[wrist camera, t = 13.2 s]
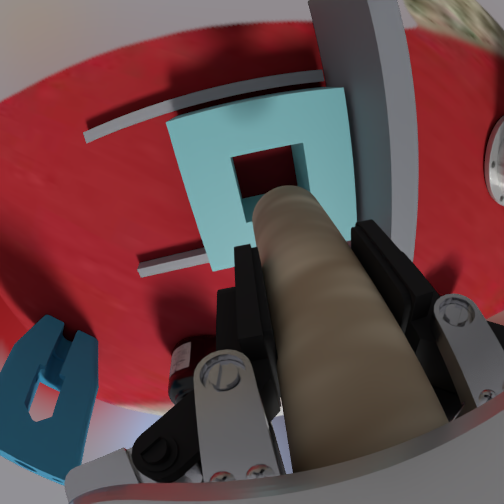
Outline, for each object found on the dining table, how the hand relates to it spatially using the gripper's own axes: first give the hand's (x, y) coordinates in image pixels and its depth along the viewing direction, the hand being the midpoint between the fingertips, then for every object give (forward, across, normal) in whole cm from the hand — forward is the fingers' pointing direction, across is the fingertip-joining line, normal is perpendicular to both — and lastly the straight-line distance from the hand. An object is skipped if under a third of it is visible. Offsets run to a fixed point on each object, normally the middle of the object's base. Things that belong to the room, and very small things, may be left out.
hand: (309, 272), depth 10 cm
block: (+17, +29, +16) cm, 37 cm away
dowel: (+4, 0, 0) cm, 4 cm away
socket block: (+17, 0, +1) cm, 17 cm away
